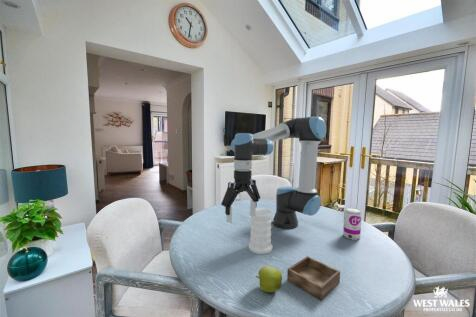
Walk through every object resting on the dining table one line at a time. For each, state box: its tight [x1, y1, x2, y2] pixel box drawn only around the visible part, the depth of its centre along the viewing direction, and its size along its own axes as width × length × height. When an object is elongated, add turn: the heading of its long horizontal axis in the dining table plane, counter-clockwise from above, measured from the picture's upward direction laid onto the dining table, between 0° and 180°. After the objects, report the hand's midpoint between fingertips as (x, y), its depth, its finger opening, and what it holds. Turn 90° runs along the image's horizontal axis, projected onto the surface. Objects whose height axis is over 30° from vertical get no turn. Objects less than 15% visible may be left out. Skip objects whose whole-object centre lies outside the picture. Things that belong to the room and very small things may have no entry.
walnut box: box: [286, 255, 341, 301], centre depth 81 cm, size 14×14×4 cm
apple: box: [255, 265, 283, 293], centre depth 77 cm, size 8×9×8 cm
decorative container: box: [248, 207, 273, 255], centre depth 105 cm, size 12×12×18 cm
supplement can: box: [342, 207, 363, 241], centre depth 117 cm, size 8×8×15 cm
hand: (241, 218), depth 94 cm, fingers open, 13 cm apart
